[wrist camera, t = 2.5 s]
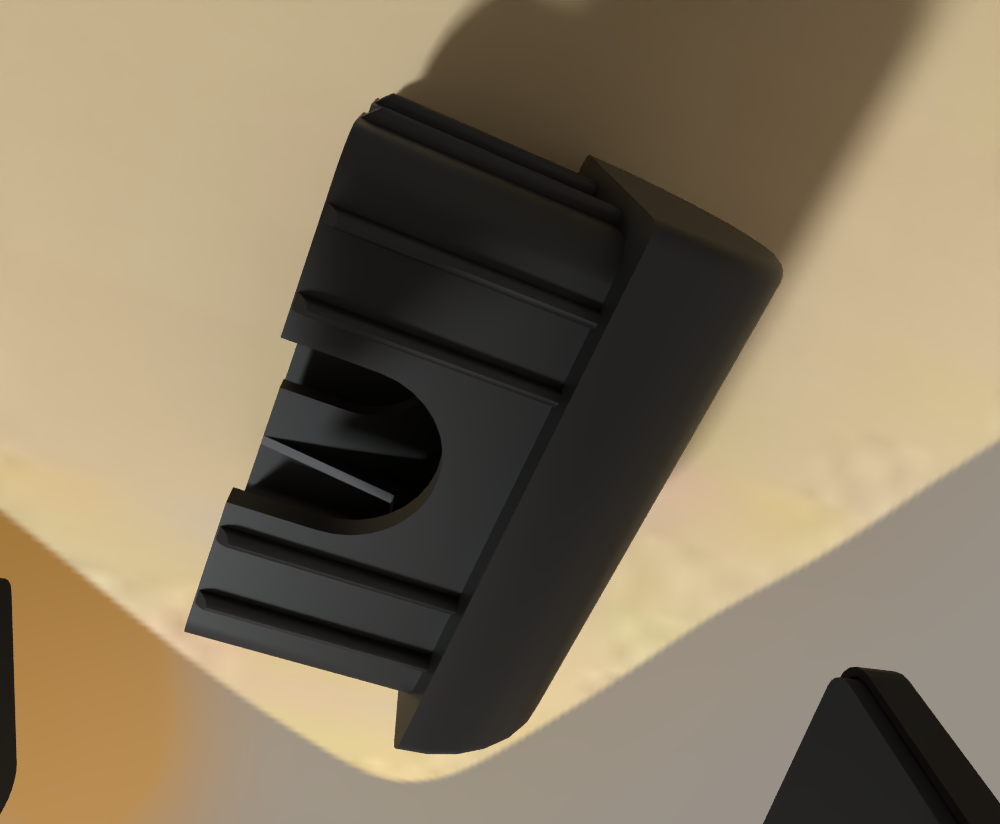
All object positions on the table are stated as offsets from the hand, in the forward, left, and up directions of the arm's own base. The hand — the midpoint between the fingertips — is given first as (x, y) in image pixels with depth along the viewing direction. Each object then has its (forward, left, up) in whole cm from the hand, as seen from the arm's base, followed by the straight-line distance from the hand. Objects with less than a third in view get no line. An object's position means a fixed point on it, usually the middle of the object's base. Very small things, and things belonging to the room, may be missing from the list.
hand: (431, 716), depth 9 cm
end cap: (-1, -1, -10) cm, 10 cm away
